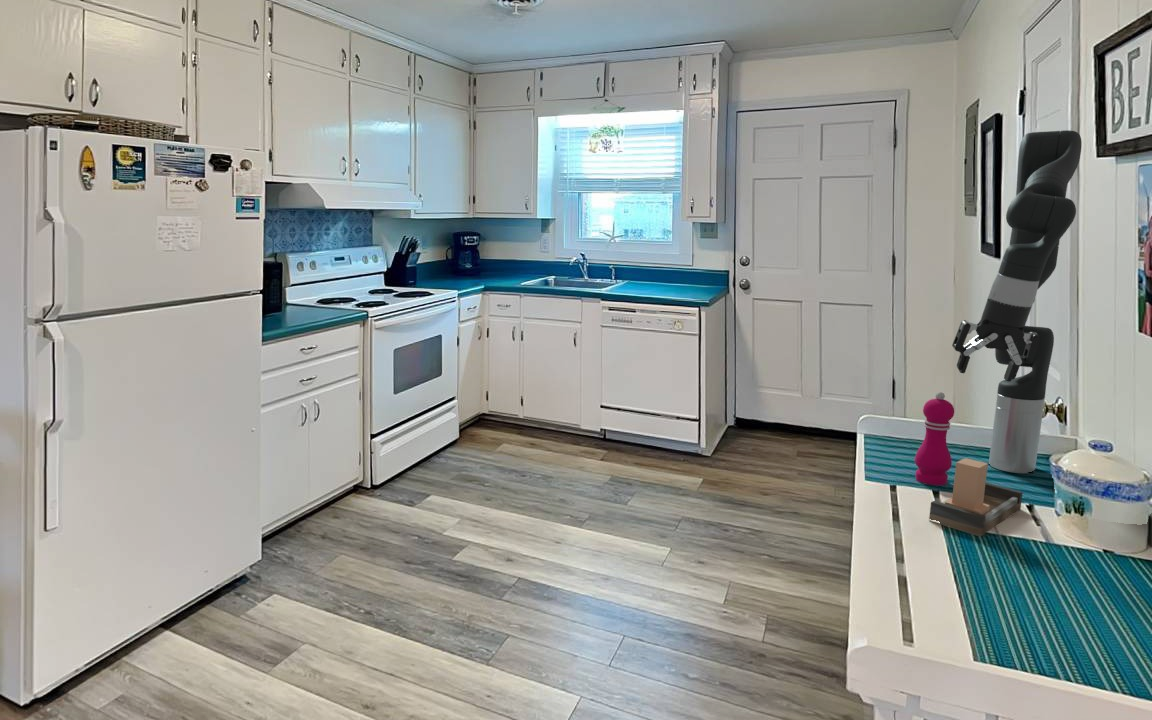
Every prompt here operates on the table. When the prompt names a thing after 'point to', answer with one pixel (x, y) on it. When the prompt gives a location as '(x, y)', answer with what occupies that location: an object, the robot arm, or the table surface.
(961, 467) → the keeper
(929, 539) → the table surface
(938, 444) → the pepper mill
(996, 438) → the robot arm
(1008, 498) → the track
